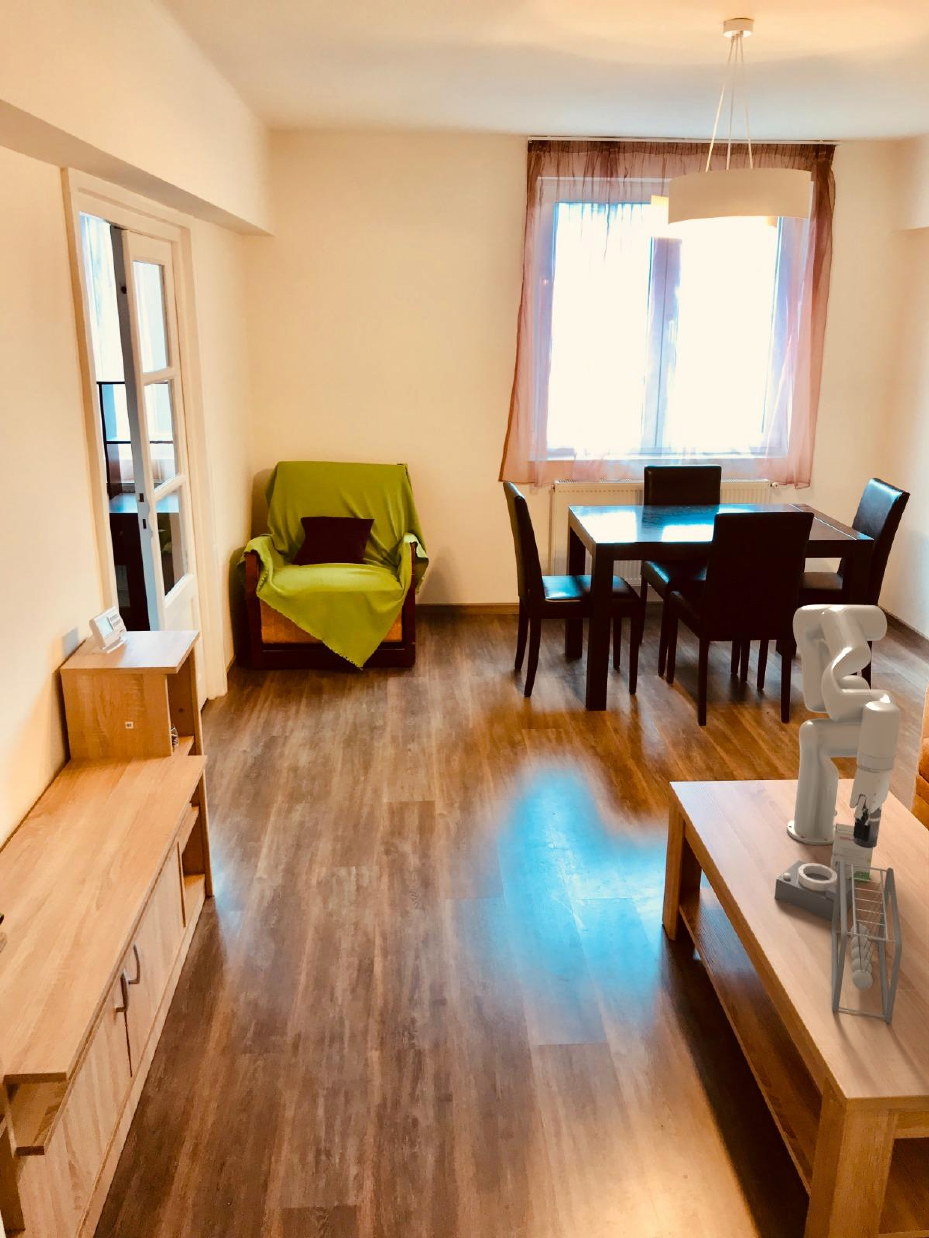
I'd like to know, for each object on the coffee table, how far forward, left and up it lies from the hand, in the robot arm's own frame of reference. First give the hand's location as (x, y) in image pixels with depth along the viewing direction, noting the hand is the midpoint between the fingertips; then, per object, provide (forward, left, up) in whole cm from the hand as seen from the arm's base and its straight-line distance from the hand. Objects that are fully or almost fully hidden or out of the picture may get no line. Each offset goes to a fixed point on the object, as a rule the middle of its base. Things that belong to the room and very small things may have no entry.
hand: (865, 833), depth 213 cm
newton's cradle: (+22, +10, -19) cm, 31 cm away
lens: (0, 0, -2) cm, 2 cm away
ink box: (-13, -7, -19) cm, 24 cm away
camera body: (+3, -8, -19) cm, 21 cm away
